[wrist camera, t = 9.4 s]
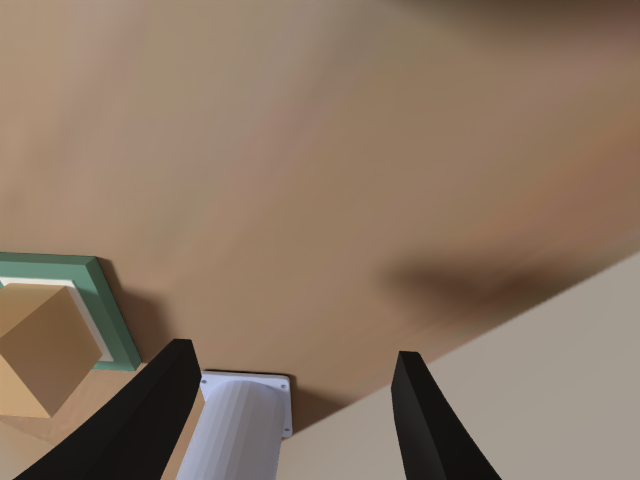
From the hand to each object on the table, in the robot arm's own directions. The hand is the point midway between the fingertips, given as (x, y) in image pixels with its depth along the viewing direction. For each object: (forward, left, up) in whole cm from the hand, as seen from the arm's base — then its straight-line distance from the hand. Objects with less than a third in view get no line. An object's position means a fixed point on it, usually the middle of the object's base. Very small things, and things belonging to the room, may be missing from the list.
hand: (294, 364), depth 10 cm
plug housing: (-8, +19, -8) cm, 22 cm away
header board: (-8, +19, -9) cm, 23 cm away
